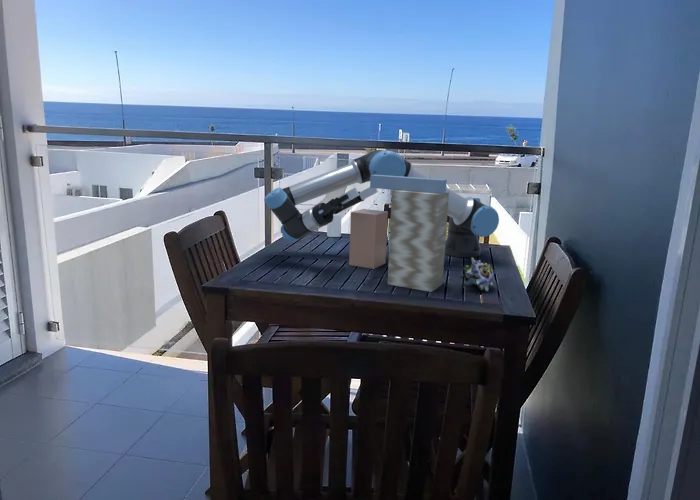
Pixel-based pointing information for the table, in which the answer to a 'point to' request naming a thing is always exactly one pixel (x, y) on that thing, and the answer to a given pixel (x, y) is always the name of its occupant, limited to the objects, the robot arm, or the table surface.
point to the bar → (408, 183)
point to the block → (368, 238)
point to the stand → (417, 239)
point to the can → (334, 226)
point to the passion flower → (479, 274)
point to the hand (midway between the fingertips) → (366, 189)
